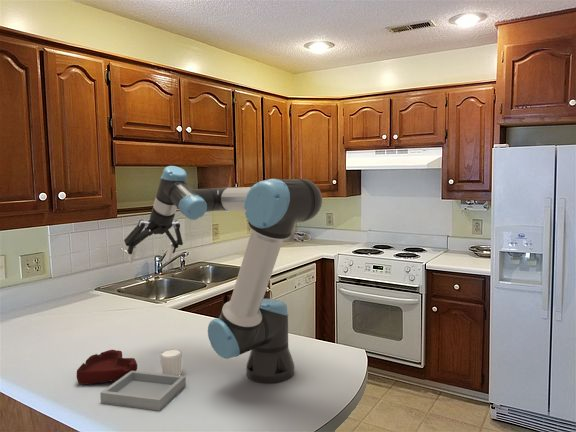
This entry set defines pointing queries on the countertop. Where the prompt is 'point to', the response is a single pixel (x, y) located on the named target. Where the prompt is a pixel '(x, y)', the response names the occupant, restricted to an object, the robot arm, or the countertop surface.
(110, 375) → the ashtray
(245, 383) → the countertop surface
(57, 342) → the countertop surface
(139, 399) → the tray
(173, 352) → the white cup
